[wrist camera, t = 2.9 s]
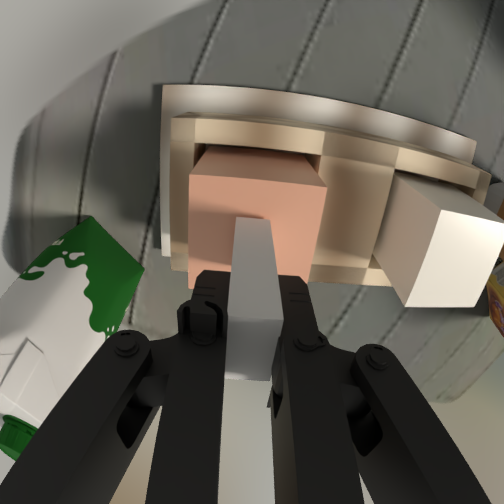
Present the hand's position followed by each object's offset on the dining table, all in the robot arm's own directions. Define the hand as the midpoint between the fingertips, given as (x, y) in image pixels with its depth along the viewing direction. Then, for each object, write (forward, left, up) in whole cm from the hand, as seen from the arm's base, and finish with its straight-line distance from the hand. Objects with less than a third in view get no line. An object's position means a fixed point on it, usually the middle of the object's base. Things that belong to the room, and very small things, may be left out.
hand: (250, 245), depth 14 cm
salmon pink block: (0, 0, -7) cm, 7 cm away
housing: (-6, 0, -11) cm, 12 cm away
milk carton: (+14, +9, -11) cm, 20 cm away
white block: (-12, 0, -7) cm, 14 cm away
